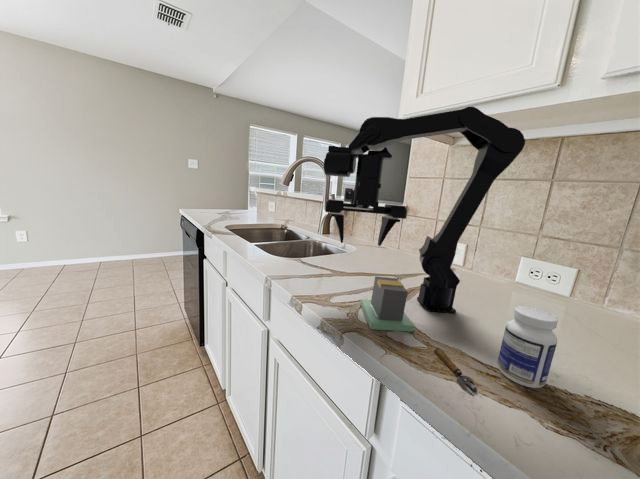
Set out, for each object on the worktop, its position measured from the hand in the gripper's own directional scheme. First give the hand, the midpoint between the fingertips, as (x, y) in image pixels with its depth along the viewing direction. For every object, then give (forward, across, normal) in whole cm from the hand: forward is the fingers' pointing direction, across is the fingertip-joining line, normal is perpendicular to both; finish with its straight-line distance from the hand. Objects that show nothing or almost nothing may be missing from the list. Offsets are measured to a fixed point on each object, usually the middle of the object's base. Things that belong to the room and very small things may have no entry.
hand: (360, 244), depth 62 cm
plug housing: (+11, -4, +13) cm, 17 cm away
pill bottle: (+12, -20, +28) cm, 37 cm away
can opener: (+13, -10, +28) cm, 32 cm away
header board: (+12, -4, +13) cm, 18 cm away
